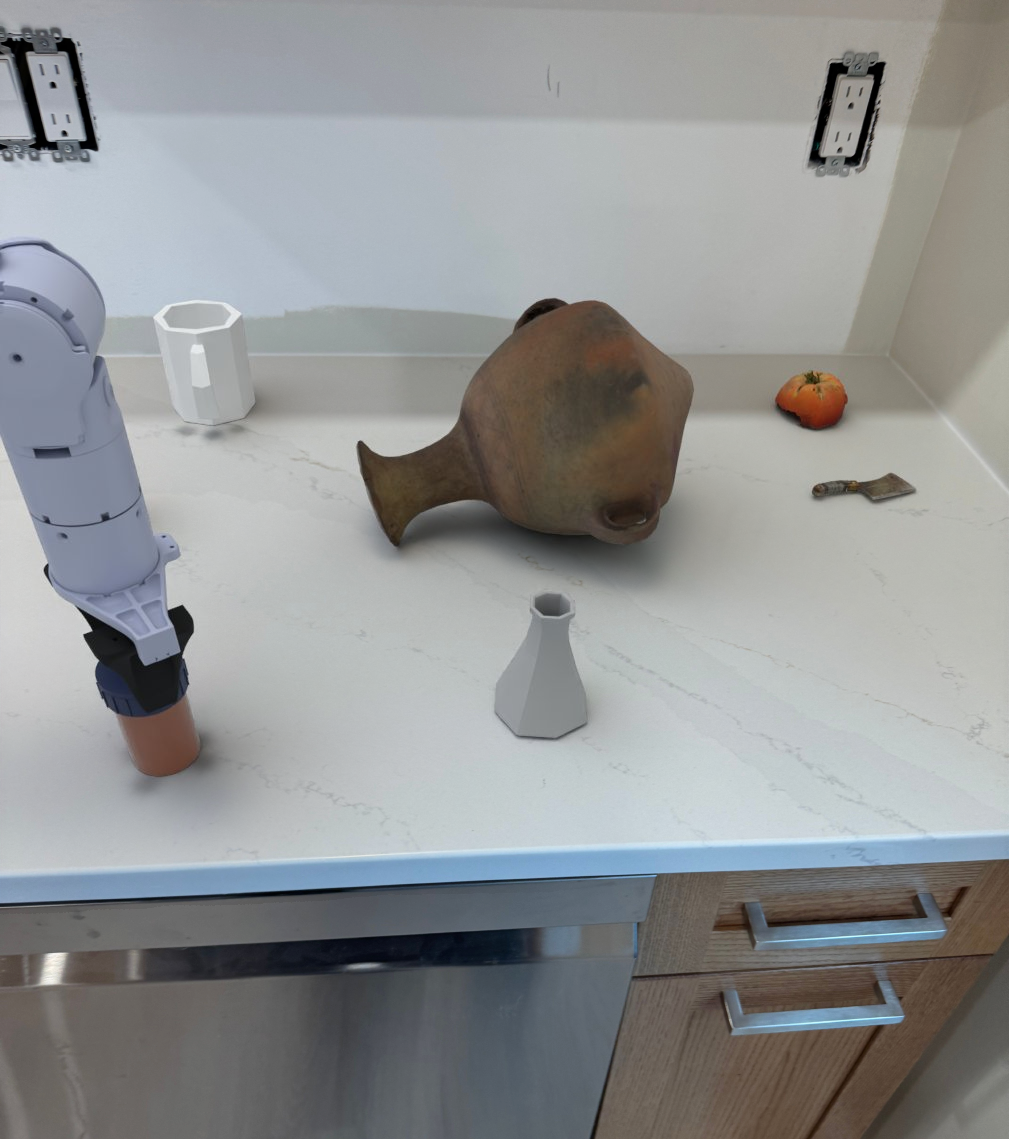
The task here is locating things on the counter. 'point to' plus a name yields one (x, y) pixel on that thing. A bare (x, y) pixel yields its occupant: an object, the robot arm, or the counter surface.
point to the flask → (543, 674)
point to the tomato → (814, 398)
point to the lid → (121, 696)
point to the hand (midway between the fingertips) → (143, 677)
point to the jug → (552, 432)
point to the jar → (162, 739)
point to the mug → (205, 361)
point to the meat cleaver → (866, 487)
